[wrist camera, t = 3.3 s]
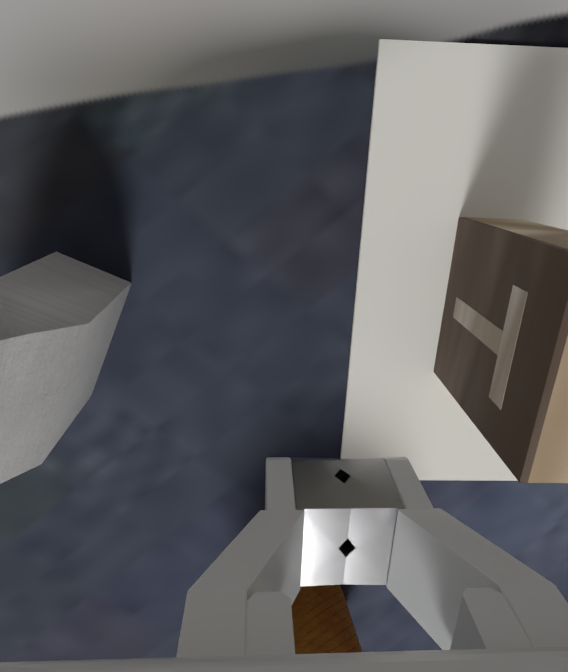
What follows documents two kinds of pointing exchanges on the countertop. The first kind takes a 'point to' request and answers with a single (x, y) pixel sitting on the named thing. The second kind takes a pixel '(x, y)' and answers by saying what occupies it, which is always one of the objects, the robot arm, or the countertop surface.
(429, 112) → the felt mat
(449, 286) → the letter block
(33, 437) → the grey angular block
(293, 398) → the countertop surface
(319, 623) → the disposable coffee cup
